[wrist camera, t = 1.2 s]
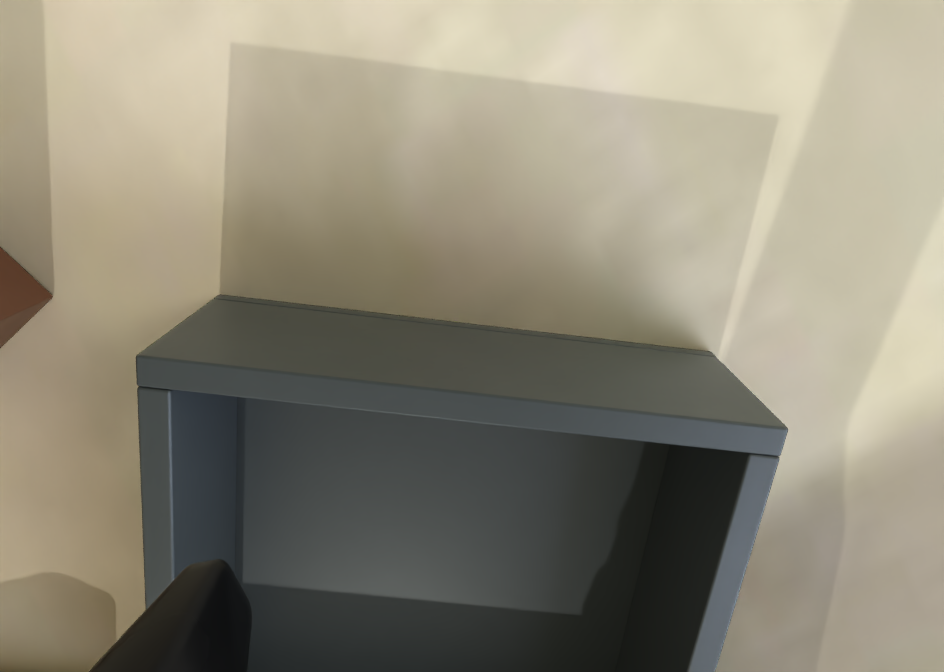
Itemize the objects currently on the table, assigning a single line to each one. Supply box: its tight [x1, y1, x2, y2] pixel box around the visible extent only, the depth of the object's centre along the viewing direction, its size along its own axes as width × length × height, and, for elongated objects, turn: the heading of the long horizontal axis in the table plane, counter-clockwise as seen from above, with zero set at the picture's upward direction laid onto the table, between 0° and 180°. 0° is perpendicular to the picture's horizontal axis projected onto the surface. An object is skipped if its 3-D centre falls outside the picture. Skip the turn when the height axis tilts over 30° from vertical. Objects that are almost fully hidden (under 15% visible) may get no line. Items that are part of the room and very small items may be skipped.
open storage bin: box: [136, 295, 788, 672], centre depth 21 cm, size 18×16×6 cm
